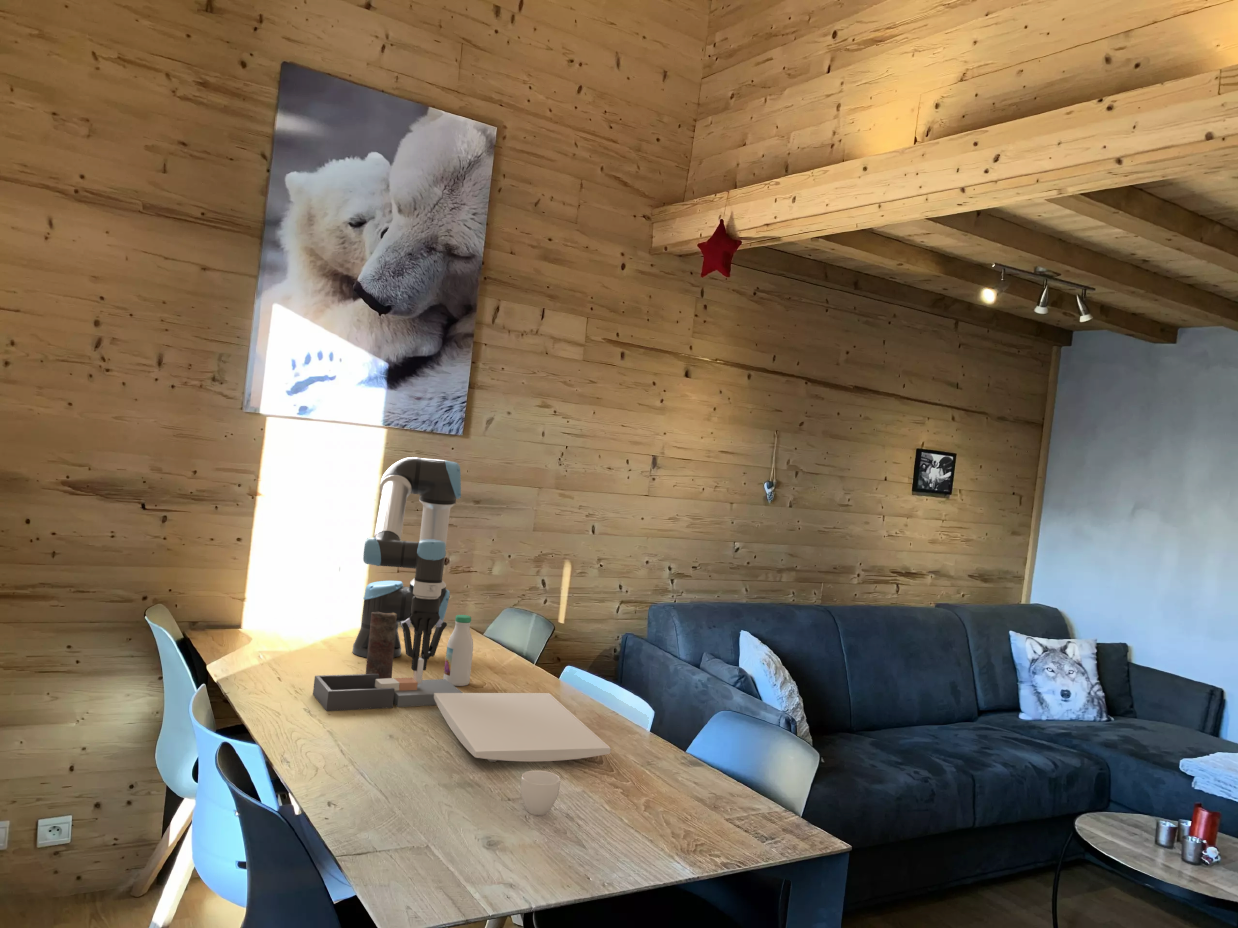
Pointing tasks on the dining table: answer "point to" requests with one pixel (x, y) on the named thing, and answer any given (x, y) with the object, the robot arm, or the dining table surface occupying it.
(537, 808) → the cup
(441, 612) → the robot arm
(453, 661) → the milk bottle
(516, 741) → the board
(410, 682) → the tile terracotta
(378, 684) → the tile white
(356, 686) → the box
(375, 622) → the candle
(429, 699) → the slate board
